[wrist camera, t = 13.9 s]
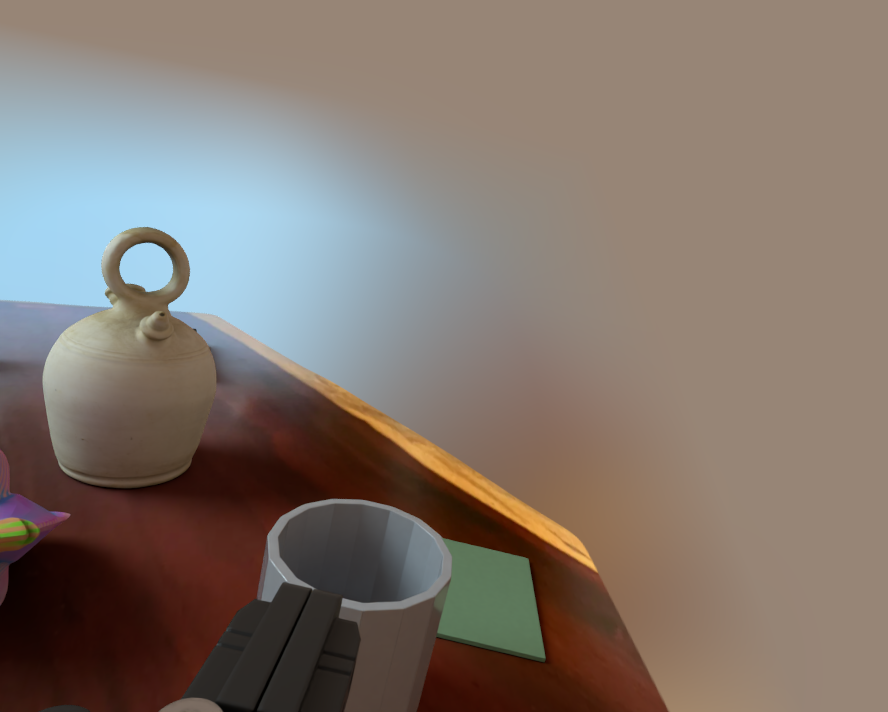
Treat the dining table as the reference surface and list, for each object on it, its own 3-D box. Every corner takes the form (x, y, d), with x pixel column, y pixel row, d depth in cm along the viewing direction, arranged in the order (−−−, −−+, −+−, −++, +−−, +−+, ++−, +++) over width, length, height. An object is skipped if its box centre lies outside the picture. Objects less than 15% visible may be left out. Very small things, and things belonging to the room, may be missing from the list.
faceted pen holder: (417, 665, 40) (454, 520, 37) (399, 818, 29) (448, 630, 27) (274, 632, 40) (301, 485, 37) (204, 773, 29) (235, 581, 26)
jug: (57, 429, 61) (73, 206, 56) (205, 435, 68) (232, 237, 63) (16, 498, 48) (33, 214, 42) (205, 497, 54) (240, 252, 49)
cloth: (527, 561, 56) (528, 558, 56) (544, 662, 43) (545, 658, 43) (323, 513, 57) (324, 510, 57) (275, 598, 43) (276, 594, 43)
